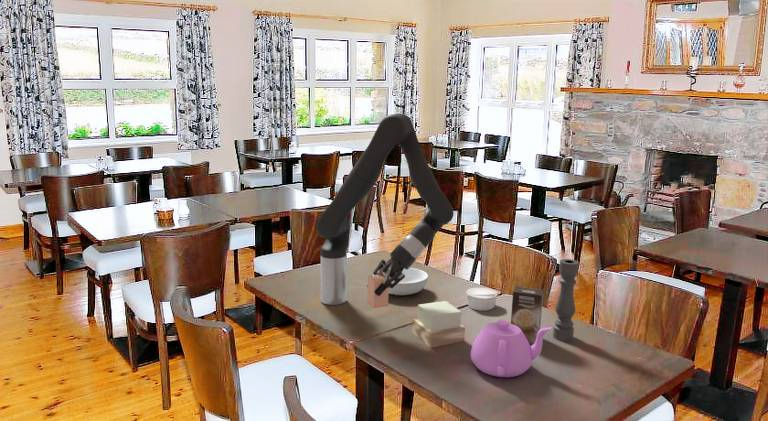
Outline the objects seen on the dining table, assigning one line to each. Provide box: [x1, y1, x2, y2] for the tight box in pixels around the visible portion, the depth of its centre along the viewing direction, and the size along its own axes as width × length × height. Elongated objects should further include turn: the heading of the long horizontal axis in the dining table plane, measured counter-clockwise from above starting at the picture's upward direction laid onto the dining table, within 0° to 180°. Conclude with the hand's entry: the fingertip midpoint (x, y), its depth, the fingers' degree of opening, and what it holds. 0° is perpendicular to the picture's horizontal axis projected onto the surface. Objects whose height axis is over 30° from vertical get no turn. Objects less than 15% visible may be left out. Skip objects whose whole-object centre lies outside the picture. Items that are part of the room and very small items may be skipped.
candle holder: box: [552, 258, 580, 342], centre depth 196 cm, size 6×6×25 cm
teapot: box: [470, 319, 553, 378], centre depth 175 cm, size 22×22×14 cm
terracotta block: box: [366, 275, 389, 309], centre depth 199 cm, size 5×5×9 cm
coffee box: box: [510, 285, 544, 344], centre depth 195 cm, size 9×6×16 cm
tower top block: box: [416, 300, 462, 331], centre depth 195 cm, size 10×10×5 cm
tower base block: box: [411, 318, 466, 348], centre depth 196 cm, size 12×12×5 cm
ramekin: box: [465, 287, 498, 312], centre depth 223 cm, size 11×11×5 cm
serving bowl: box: [372, 267, 429, 296], centre depth 237 cm, size 21×21×7 cm
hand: (372, 291), depth 198 cm, fingers closed on terracotta block, 5 cm apart
